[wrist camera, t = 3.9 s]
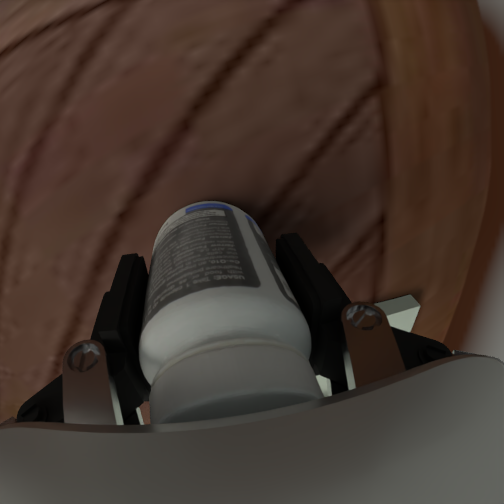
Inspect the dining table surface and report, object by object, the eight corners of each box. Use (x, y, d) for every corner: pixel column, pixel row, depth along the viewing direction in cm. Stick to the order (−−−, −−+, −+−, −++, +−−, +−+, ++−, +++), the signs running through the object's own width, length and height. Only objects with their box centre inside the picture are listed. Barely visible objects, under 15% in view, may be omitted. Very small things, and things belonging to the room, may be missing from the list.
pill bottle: (141, 277, 13) (119, 460, 5) (177, 181, 11) (159, 358, 4) (235, 305, 14) (277, 470, 7) (283, 223, 13) (385, 385, 5)
